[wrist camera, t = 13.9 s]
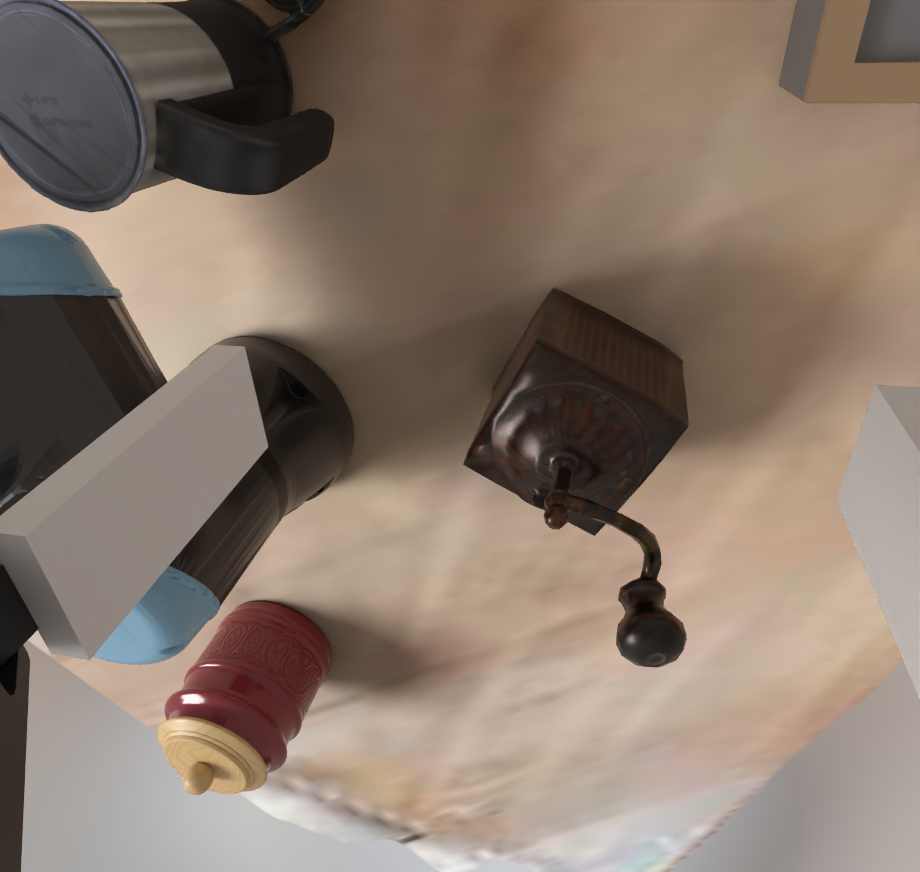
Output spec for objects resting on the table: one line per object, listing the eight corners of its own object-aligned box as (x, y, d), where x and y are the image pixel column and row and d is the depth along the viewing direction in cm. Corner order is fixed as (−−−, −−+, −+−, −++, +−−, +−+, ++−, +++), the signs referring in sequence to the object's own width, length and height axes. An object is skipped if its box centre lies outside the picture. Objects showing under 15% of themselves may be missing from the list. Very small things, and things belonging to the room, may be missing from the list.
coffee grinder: (482, 402, 50) (412, 565, 36) (552, 281, 44) (502, 420, 29) (657, 496, 51) (658, 693, 36) (752, 391, 45) (799, 579, 30)
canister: (266, 581, 69) (164, 733, 54) (357, 655, 72) (282, 816, 57) (208, 624, 76) (103, 769, 61) (292, 690, 79) (212, 842, 64)
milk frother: (178, 154, 45) (7, 208, 33) (113, -147, 37) (-150, -221, 25) (372, 165, 43) (261, 229, 31) (351, -158, 34) (184, -246, 22)
